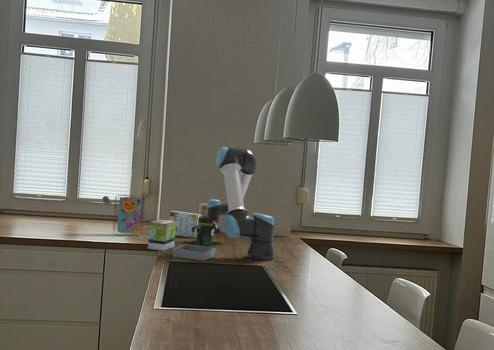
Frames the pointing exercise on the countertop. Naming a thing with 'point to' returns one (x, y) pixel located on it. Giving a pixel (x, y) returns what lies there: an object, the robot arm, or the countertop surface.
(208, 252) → the tray
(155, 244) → the tea box
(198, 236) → the coffee jar
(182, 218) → the snack box
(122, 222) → the box
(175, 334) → the countertop surface
